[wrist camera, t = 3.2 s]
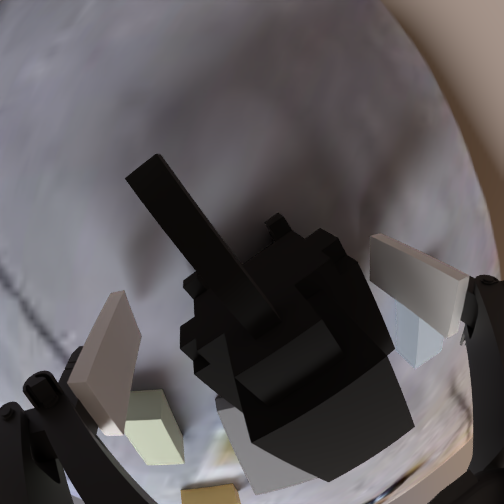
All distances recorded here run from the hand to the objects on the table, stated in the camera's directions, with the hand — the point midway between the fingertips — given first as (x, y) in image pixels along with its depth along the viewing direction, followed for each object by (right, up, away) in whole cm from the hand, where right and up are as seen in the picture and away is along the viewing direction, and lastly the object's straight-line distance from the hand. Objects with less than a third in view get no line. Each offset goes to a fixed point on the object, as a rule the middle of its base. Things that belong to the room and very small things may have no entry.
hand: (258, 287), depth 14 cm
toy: (0, +1, +2) cm, 2 cm away
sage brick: (-8, -10, +4) cm, 14 cm away
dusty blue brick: (+12, -3, +6) cm, 14 cm away
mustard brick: (-5, -25, +9) cm, 27 cm away
